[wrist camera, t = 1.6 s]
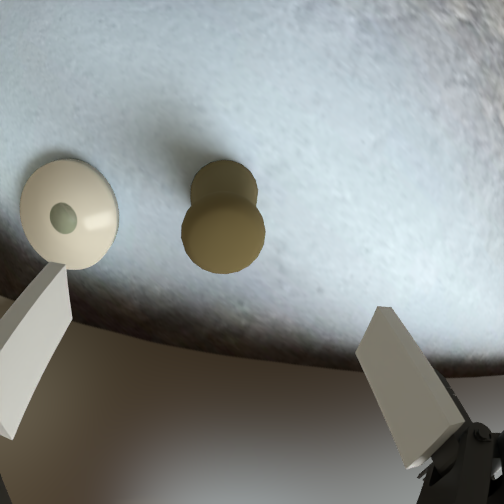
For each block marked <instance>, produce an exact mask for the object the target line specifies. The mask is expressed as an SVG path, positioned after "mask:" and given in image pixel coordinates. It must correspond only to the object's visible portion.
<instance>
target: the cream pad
mask: <svg viewBox="0 0 504 504" xmlns="http://www.w3.org/2000/svg"><path fill="white" fill-rule="evenodd" d="M20 217H21V222H22V226H23V229H24V232H25V234H26V237H27V239H28V240H29V242H30V244H31V245H32V247H33V248H34V249H35V250H36V251H37V253H38V254H39V255H40V256H42V257H43V258H44V259H45V260H47V261H48V262H50V261H51V262H56V263H61V264H66V269H70V270H79V269H84V268H87V267H90V266H92V265H94V264H95V263H97V262H98V261H99V260H100V259H101V258H102V257H103V256H104V255H105V254H106V252H107V251H108V250H109V248H110V247H111V245H112V244H113V242H114V240H115V238H116V235H117V231H118V227H119V209H118V204H117V200H116V197H115V194H114V192H113V190H112V188H111V186H110V184H109V183H108V181H107V180H106V178H105V177H104V176H103V175H102V174H101V173H100V172H99V171H98V170H97V169H96V168H94V167H93V166H91V165H90V164H88V163H86V162H83V161H80V160H77V159H71V158H69V159H59V160H56V161H53V162H50V163H48V164H46V165H44V166H42V167H40V168H39V169H37V170H36V171H35V172H34V173H33V174H32V175H31V176H30V178H29V179H28V180H27V182H26V184H25V186H24V189H23V191H22V195H21V200H20Z"/></svg>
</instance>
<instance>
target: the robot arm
mask: <svg viewBox="0 0 504 504" xmlns="http://www.w3.org/2000/svg"><path fill="white" fill-rule="evenodd" d="M71 320H72V313H71V306H70V299H69V291H68V283H67V273H66V264H61V263H56V262H51V261H50V262H49V263H48V264H47V265H46V267H45V268H44V269H43V270H42V271H41V272H40V273H39V274H38V275H37V277H36V278H35V279H34V280H33V281H32V282H31V283H30V284H29V286H28V287H27V288H26V289H25V290H24V291H23V293H22V294H21V295H20V296H19V297H18V299H17V300H16V301H15V302H14V303H13V305H12V306H11V307H10V308H9V310H8V311H7V312H6V314H5V315H4V316H3V317H2V319H1V320H0V435H2V436H4V437H7V438H9V439H11V440H13V438H14V435H15V433H16V431H17V428H18V426H19V423H20V421H21V419H22V416H23V414H24V412H25V410H26V407H27V405H28V403H29V401H30V399H31V397H32V394H33V392H34V390H35V388H36V386H37V384H38V382H39V380H40V378H41V376H42V374H43V372H44V370H45V368H46V366H47V364H48V362H49V360H50V358H51V357H52V355H53V353H54V351H55V349H56V347H57V345H58V344H59V342H60V340H61V338H62V336H63V334H64V333H65V331H66V329H67V327H68V326H69V324H70V322H71ZM355 353H356V355H357V358H358V360H359V362H360V364H361V366H362V368H363V371H364V373H365V375H366V377H367V379H368V381H369V384H370V386H371V388H372V390H373V392H374V395H375V397H376V399H377V402H378V404H379V406H380V409H381V411H382V413H383V415H384V418H385V420H386V422H387V425H388V427H389V429H390V432H391V434H392V436H393V439H394V441H395V444H396V446H397V449H398V451H399V453H400V456H401V458H402V461H403V463H404V466H405V468H406V469H409V468H413V467H417V466H420V465H422V464H423V463H424V462H425V461H426V460H427V459H429V458H430V457H431V458H432V460H433V462H432V463H431V464H430V465H429V466H428V467H427V468H426V469H425V470H423V471H422V472H421V473H420V474H419V476H418V477H417V478H421V477H422V476H423V475H424V474H426V473H427V474H426V477H425V478H424V479H423V481H424V483H423V487H422V489H421V493H420V495H419V498H418V501H417V504H504V431H503V432H502V433H491V431H490V430H489V428H488V427H487V426H485V425H484V424H482V423H479V422H475V423H473V422H472V421H471V420H470V418H469V416H468V414H467V413H466V411H465V409H464V408H463V406H462V404H461V403H460V401H459V399H458V398H457V396H455V393H454V391H453V390H452V389H450V385H449V384H448V382H447V381H446V379H445V377H443V376H442V375H441V374H440V373H439V372H438V371H437V370H436V369H435V370H434V369H433V368H432V366H431V365H430V363H429V362H428V360H427V359H426V357H425V356H424V354H423V353H422V351H421V350H420V348H419V347H418V345H417V344H416V342H415V341H414V339H413V338H412V336H411V335H410V333H409V332H408V330H407V329H406V328H405V326H404V325H403V323H402V322H401V320H400V319H399V317H398V316H397V315H396V313H395V312H394V310H393V309H392V308H391V307H381V306H377V309H376V311H375V313H374V315H373V317H372V320H371V322H370V324H369V326H368V328H367V330H366V332H365V334H364V336H363V338H362V340H361V343H360V345H359V347H358V349H357V351H356V352H355ZM501 468H502V475H501V476H500V477H499V478H497V479H495V478H494V474H495V473H497V472H498V471H499V470H500V469H501ZM0 504H12V502H11V499H10V497H9V495H8V492H7V490H6V488H5V485H4V482H3V480H2V477H1V474H0Z"/></svg>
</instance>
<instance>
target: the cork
mask: <svg viewBox="0 0 504 504" xmlns="http://www.w3.org/2000/svg"><path fill="white" fill-rule="evenodd" d="M257 195H258V188H257V184H256V180H255V178H254V177H253V175H252V173H251V172H250V171H249V170H248V169H247V168H246V167H244V166H243V165H242V164H239V163H237V162H234V161H229V160H219V161H215V162H211V163H209V164H208V165H206V166H204V167H203V168H201V170H200V171H199V172H198V173H197V174H196V175H195V177H194V179H193V182H192V185H191V195H190V197H191V207H190V208H189V209H188V210H187V213H186V215H185V218H184V220H183V223H182V227H181V239H182V242H183V245H184V248H185V251H186V253H187V255H188V256H189V257H190V259H191V260H192V261H193V262H194V263H195V264H196V265H198V266H199V267H200V268H202V269H204V270H206V271H209V272H212V273H218V274H229V273H233V272H238V271H240V270H242V269H244V268H246V267H248V266H249V265H250V264H251V263H252V262H253V261H254V260H255V259H256V258H257V257H258V255H259V253H260V251H261V249H262V247H263V245H264V239H265V232H266V231H265V226H264V222H263V218H262V215H261V214H260V212H259V210H258V209H257V207H256V203H257Z"/></svg>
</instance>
